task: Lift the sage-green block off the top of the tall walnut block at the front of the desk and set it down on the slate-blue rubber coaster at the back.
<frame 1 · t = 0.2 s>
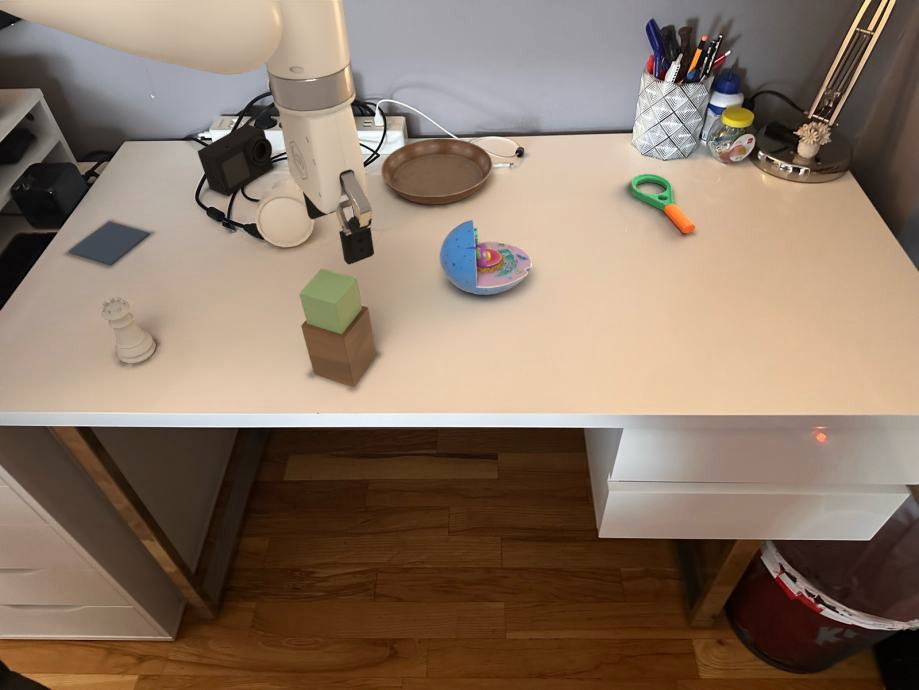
hand: (340, 235, 74), 15 cm above the table, tool pointing down, fingers open, 9 cm apart
coaster: (110, 243, 99), on the table
spotlight: (290, 230, 101), on the table
plant saucer: (437, 182, 109), on the table
base block: (345, 365, 81), on the table, touching top block
digital camera: (245, 180, 111), on the table
top block: (335, 316, 75), point 8 cm above the table, touching base block
cell model: (485, 286, 90), on the table
magnifying glass: (662, 207, 102), on the table
rook chess piece: (139, 353, 83), on the table
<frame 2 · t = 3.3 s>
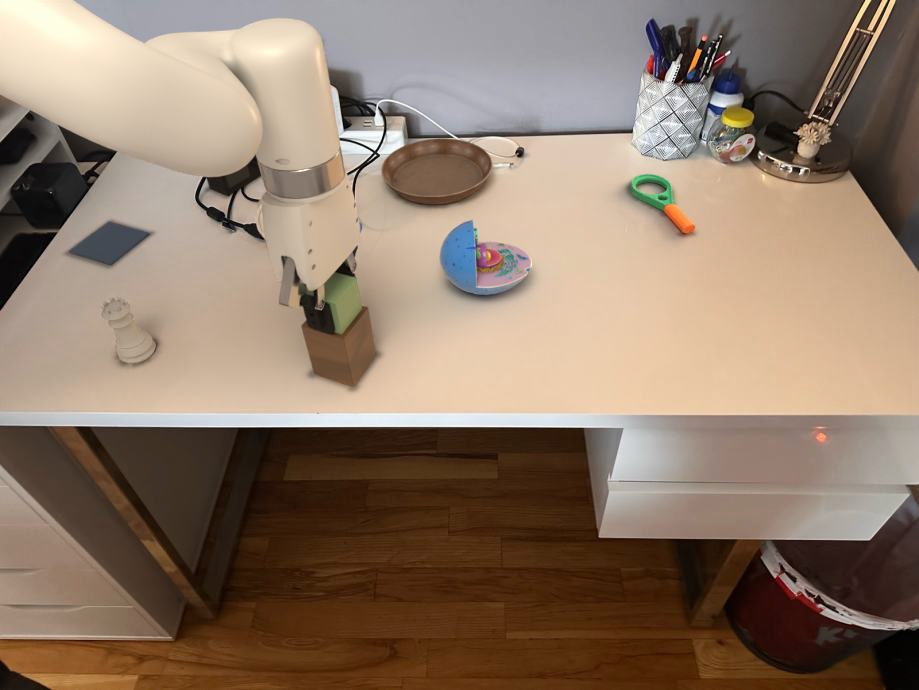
hand: (334, 312, 74), 9 cm above the table, tool pointing down, fingers closed on top block, 4 cm apart
top block: (335, 316, 75), point 8 cm above the table, touching base block, gripper
everything else where it was.
when the fingers open (1 cm above the table, at t = 13.0 s): top block stays where it is, resting on coaster.
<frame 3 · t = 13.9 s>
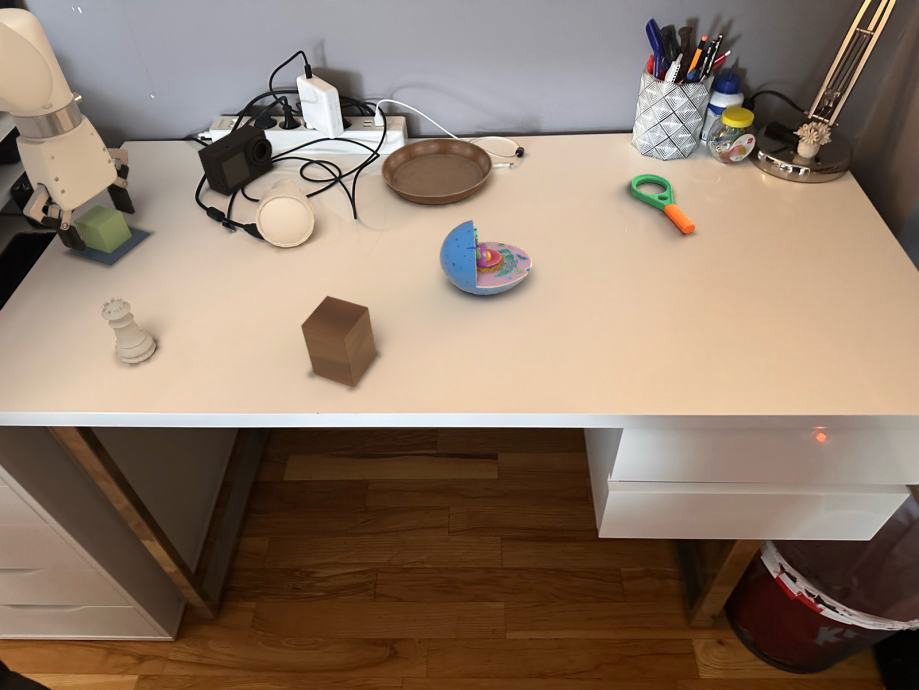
hand: (102, 229, 97), 3 cm above the table, tool pointing down, fingers open, 9 cm apart
base block: (345, 365, 81), on the table
top block: (109, 241, 99), resting on coaster
everything else where it was.
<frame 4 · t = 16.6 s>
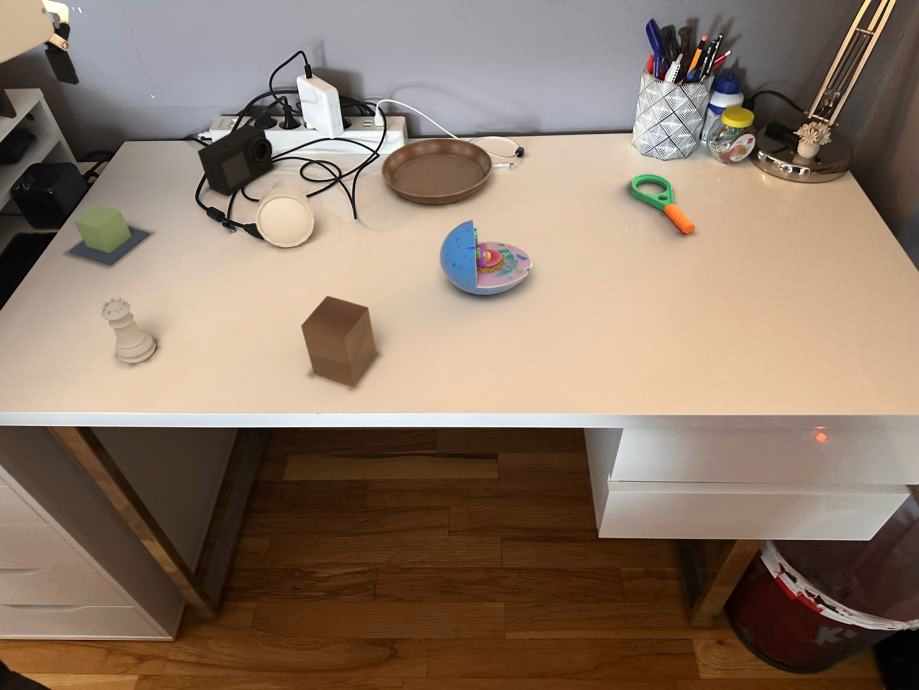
hand: (39, 98, 83), 22 cm above the table, tool pointing down, fingers open, 9 cm apart
nothing on the table moved.
at the end: top block 0.0 cm off-centre on the coaster, point 0.4 cm above the coaster's base; top block tilted 0°; base block moved 0.0 cm from its start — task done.
